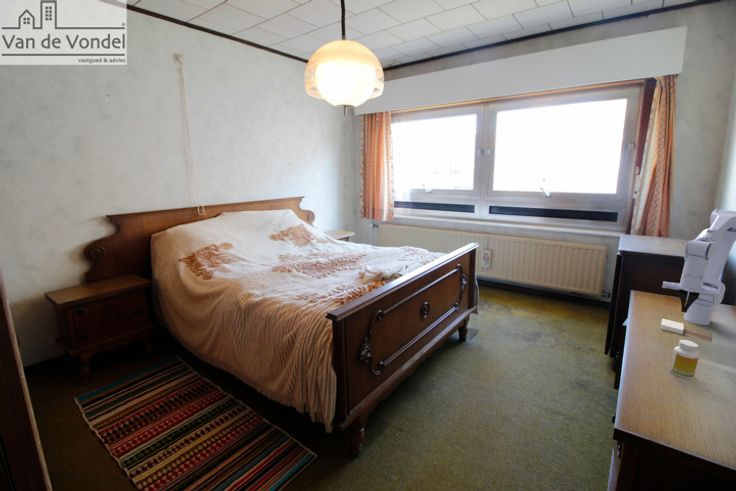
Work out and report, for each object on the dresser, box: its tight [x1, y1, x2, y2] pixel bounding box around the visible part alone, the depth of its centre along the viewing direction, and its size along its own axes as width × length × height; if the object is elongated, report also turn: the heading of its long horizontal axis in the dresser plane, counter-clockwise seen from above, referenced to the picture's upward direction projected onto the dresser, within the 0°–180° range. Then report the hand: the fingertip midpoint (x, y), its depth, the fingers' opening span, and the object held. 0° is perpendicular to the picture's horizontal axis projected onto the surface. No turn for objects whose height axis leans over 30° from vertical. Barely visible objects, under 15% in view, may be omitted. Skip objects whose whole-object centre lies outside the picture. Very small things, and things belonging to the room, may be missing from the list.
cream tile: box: [660, 318, 685, 335], centre depth 127 cm, size 7×6×2 cm
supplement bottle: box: [668, 339, 700, 380], centre depth 100 cm, size 5×5×10 cm
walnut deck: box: [684, 327, 713, 343], centre depth 122 cm, size 8×7×1 cm
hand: (683, 311), depth 124 cm, fingers closed
